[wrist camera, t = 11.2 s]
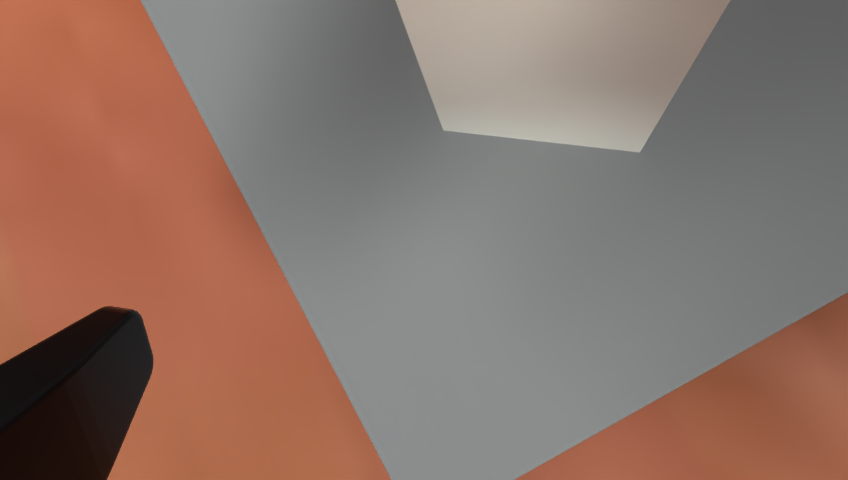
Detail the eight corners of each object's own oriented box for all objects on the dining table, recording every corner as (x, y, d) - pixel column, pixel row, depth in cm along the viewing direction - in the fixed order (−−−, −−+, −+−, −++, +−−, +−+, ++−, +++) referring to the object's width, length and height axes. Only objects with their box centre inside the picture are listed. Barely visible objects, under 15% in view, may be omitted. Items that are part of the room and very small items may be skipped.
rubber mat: (424, 524, 17) (419, 532, 16) (133, -28, 20) (118, -42, 19) (1054, 170, 16) (1081, 161, 16) (657, -346, 19) (663, -376, 19)
